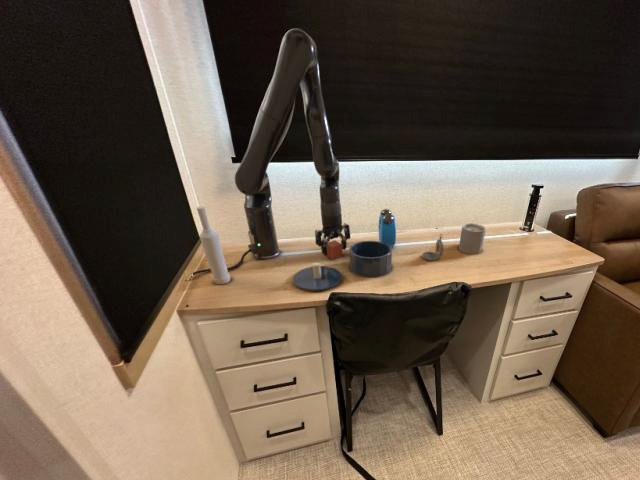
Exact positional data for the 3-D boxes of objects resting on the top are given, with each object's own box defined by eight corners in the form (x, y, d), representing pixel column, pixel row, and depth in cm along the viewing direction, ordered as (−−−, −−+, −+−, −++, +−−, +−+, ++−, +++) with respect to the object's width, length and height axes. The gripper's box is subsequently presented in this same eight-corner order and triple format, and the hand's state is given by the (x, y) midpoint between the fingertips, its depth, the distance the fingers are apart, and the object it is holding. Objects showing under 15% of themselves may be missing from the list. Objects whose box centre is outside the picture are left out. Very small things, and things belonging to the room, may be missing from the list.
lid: (307, 297, 101) (305, 280, 97) (285, 277, 111) (282, 261, 107) (351, 282, 110) (350, 266, 107) (327, 264, 120) (325, 249, 117)
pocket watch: (419, 257, 130) (421, 234, 124) (431, 251, 135) (434, 229, 130) (434, 264, 125) (437, 240, 120) (447, 258, 130) (450, 235, 125)
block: (331, 259, 125) (330, 247, 122) (325, 254, 128) (324, 243, 125) (342, 256, 127) (342, 244, 125) (336, 251, 130) (335, 240, 128)
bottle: (217, 276, 109) (195, 204, 95) (233, 276, 109) (213, 205, 96) (211, 284, 104) (187, 210, 91) (227, 284, 105) (205, 210, 91)
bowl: (366, 281, 111) (365, 262, 107) (342, 264, 121) (341, 246, 117) (399, 269, 120) (400, 251, 116) (374, 255, 130) (375, 237, 125)
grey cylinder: (484, 253, 136) (489, 231, 130) (462, 254, 135) (466, 231, 129) (474, 241, 147) (478, 220, 141) (454, 241, 146) (457, 220, 140)
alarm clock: (395, 251, 134) (396, 216, 125) (381, 251, 133) (381, 216, 124) (391, 239, 144) (392, 206, 136) (378, 239, 143) (378, 206, 135)
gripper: (342, 206, 124) (344, 244, 133) (309, 213, 116) (314, 253, 125) (352, 211, 120) (354, 250, 128) (319, 218, 112) (323, 259, 120)
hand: (334, 252), depth 127 cm, fingers open, 8 cm apart
